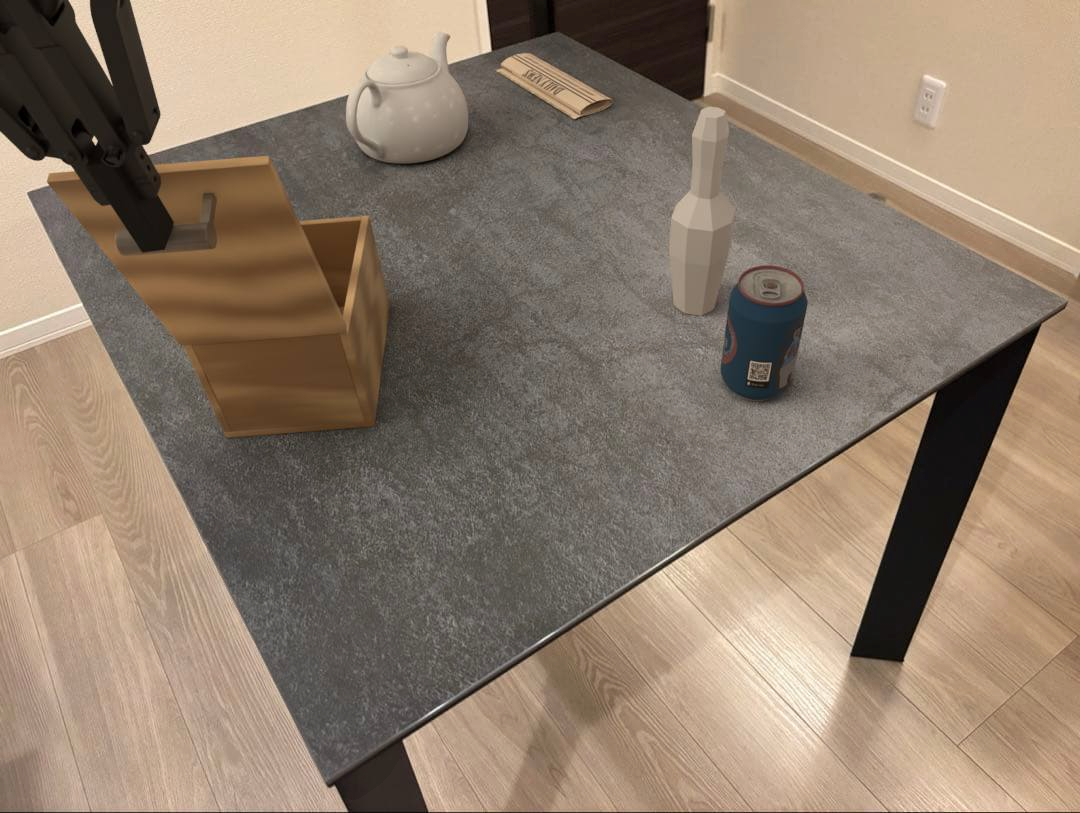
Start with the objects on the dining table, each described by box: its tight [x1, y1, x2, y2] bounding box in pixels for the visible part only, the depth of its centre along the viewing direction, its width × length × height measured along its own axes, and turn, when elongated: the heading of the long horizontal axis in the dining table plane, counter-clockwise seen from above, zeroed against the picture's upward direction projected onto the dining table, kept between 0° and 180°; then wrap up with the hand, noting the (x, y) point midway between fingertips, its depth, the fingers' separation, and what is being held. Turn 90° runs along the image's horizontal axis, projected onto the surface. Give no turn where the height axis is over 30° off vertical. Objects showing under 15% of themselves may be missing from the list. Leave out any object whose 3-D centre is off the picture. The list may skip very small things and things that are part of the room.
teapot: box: [345, 31, 469, 165], centre depth 119 cm, size 19×18×14 cm
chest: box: [183, 214, 391, 439], centre depth 84 cm, size 20×15×12 cm
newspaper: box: [495, 52, 613, 120], centre depth 133 cm, size 24×7×2 cm, turn 33°
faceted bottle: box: [668, 106, 736, 317], centre depth 84 cm, size 6×6×22 cm
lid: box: [46, 155, 347, 347], centre depth 62 cm, size 21×15×5 cm
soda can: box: [720, 265, 809, 402], centre depth 78 cm, size 7×7×12 cm
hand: (158, 237), depth 53 cm, fingers closed
